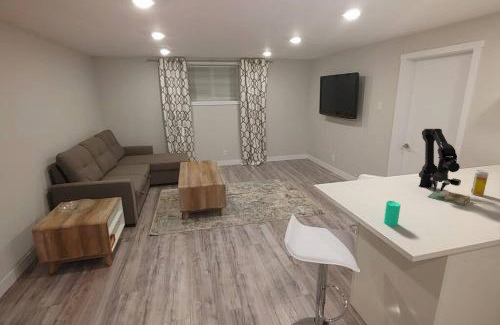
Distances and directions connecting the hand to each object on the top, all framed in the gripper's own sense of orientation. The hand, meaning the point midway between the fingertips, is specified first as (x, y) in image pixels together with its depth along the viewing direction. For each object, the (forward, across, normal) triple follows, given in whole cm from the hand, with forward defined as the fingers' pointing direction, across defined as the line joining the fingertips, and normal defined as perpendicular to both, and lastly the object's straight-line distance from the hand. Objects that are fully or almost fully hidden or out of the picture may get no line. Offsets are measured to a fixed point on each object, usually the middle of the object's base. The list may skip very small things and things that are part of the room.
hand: (437, 192), depth 162 cm
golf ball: (0, +3, 0) cm, 3 cm away
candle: (+5, -3, -58) cm, 59 cm away
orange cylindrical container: (+2, +15, +22) cm, 27 cm away
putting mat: (+2, +6, +1) cm, 6 cm away
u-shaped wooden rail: (+2, +10, +1) cm, 11 cm away
